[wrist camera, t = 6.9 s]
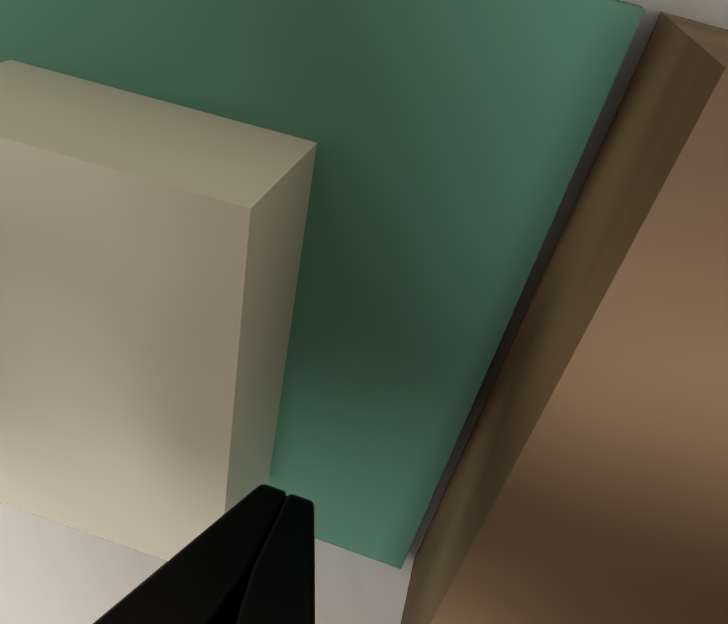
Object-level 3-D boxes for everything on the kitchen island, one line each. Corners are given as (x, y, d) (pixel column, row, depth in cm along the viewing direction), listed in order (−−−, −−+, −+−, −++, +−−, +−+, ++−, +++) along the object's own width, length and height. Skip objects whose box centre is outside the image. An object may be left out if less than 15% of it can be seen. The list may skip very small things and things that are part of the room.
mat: (403, 556, 17) (400, 568, 17) (8, 414, 18) (-3, 423, 18) (641, 6, 9) (645, 10, 9) (-90, -195, 10) (-112, -199, 10)
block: (-27, 492, 14) (58, 407, 17) (218, 579, 14) (269, 477, 16) (-134, 98, 9) (11, 59, 12) (250, 208, 9) (317, 142, 11)
